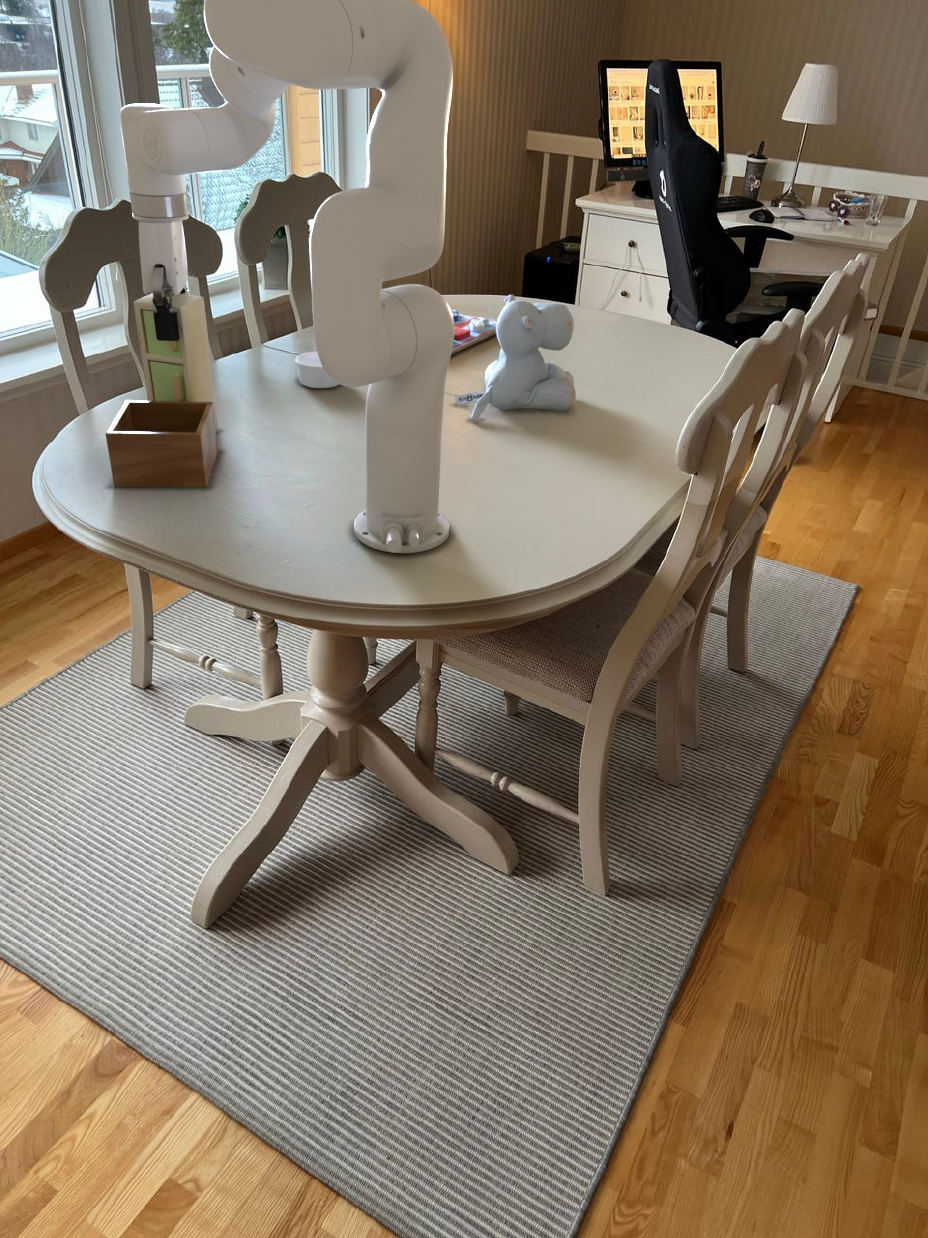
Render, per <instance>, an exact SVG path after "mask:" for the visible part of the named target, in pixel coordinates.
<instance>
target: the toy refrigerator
mask: <svg viewBox="0 0 928 1238" xmlns="http://www.w3.org/2000/svg"><path fill="white" fill-rule="evenodd" d="M186 294H187V293H183V294H178V295H176V296H175V308H174V312H177V317H178V326H179V335H180V339H179V340H178V341H159V340H157V338H156V331H155V323H154V315H153V301H152V300H153V292H152V293H151V294H150V295H145V296H143V297H140V298H138V299H136V300H134V301H133V309H134V316H135V317H134V318H135V323H136V330H137V336H138V343H139V348H140V349H139V350H140V356H141V363H142V369H143V376H144V383H145V389H146V390H145V391H146V398H147V401H189V402H213V406H214V417H215V427H216V432H217V431H218V430H219V425H218V417H217V408H216V398H215V388H214V379H213V369H212V361H211V353H210V344H209V343H210V342H209V333H208V323H207V315H206V306H205V299H204V296H199V295H194V294H188V295H186ZM167 299H168V302H169V297H167Z"/></svg>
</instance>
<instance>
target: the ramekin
mask: <svg viewBox="0 0 928 1238" xmlns="http://www.w3.org/2000/svg"><path fill="white" fill-rule="evenodd" d="M294 361H295V364H296V369H297V374H298V381H299V383H300V384H301V385H302V386H305V387H307V388H311V389H329V388H334V387H338V386H339V385H340V384H339V383H337V382H335V381H334V380H333V379H332V378H331V377H330V376H329V375H328V374H327V373H326V371H325V370H324V368H323V366H322V364H321V362H320V360H319V357H318V354H317V351H307V352H304V353H300V354H298V355H296V357H295V358H294Z"/></svg>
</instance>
